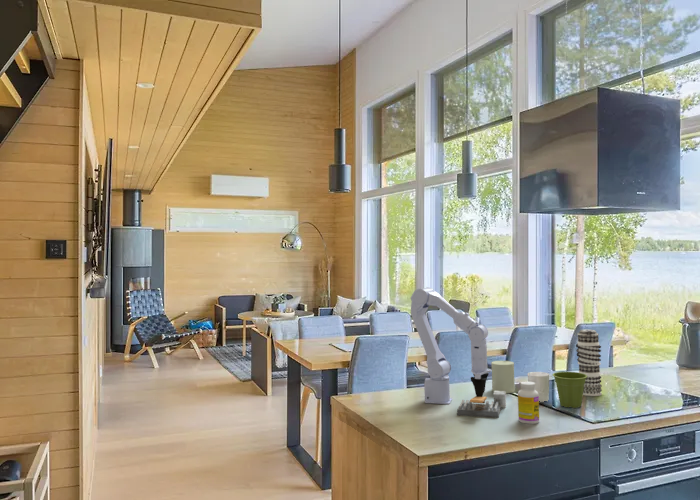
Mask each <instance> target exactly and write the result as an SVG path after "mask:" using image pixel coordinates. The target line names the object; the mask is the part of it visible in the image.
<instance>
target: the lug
mask: <svg viewBox="0 0 700 500" xmlns="http://www.w3.org/2000/svg"><path fill="white" fill-rule="evenodd" d="M506 394H507V393H506V391H494V392H493V395H492V397H493V402H494V405H495V404H496V402H498V405H500V407H501V409H502V408H503V409H504V408H505V409H506V408H507V395H506Z"/></svg>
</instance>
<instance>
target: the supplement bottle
mask: <svg viewBox="0 0 700 500" xmlns="http://www.w3.org/2000/svg"><path fill="white" fill-rule="evenodd" d="M517 405H518V406H517V409H518V411H517V413H518V416H517V417H518V421H519V422H520V423H522V424H527V425H535V424H539V422H540V402H539V394H538V392H537V391H536V390H535V383H534V382H528V381H521V382H520V389H519V390H518V392H517Z"/></svg>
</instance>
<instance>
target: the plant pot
mask: <svg viewBox="0 0 700 500" xmlns="http://www.w3.org/2000/svg"><path fill="white" fill-rule="evenodd" d="M552 376H553V377H554V382H555V386H556V390H557V394H558V396H557V397H558V399H559V400H558V401H559V405H560V406H561V407H563V406H564V407H565V408H567V407H568V408H572V409H573V408H574V409H577V408H578V409H579V408H580V407H581V406H582V405H583V404H582V403H583V396H584V395H583V390H584V384H585V380H586V378H587V375H586V374H582V373H579V372H576V371H556V372H553V373H552Z"/></svg>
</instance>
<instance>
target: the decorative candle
mask: <svg viewBox="0 0 700 500" xmlns="http://www.w3.org/2000/svg"><path fill="white" fill-rule="evenodd" d="M576 334H577V342H576V344H575V347H576V348H577V349H575V350H576V356H577V359H576V360H577V364H578V373H582V374H586V375H587V378H586V380H585V384H584V390H583V396H585V397H586V396H587V397H588V396H589V397H599V396H602V395H603V394H602V393H603V392H602V391H603V389H602V384H601V383H602V380H601V379H602V376H601V370H600V368H601V367H600V366H601V364H602V363H601V361H602V359H601V357H602V355H601V354H600V353H601V352H602V349H601V348H602V345H600V341H599V338H600V337H599V333H598V331H596V330H595V329H585V328H584V329H580V330H579V331H578V332H577V333H576Z"/></svg>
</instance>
